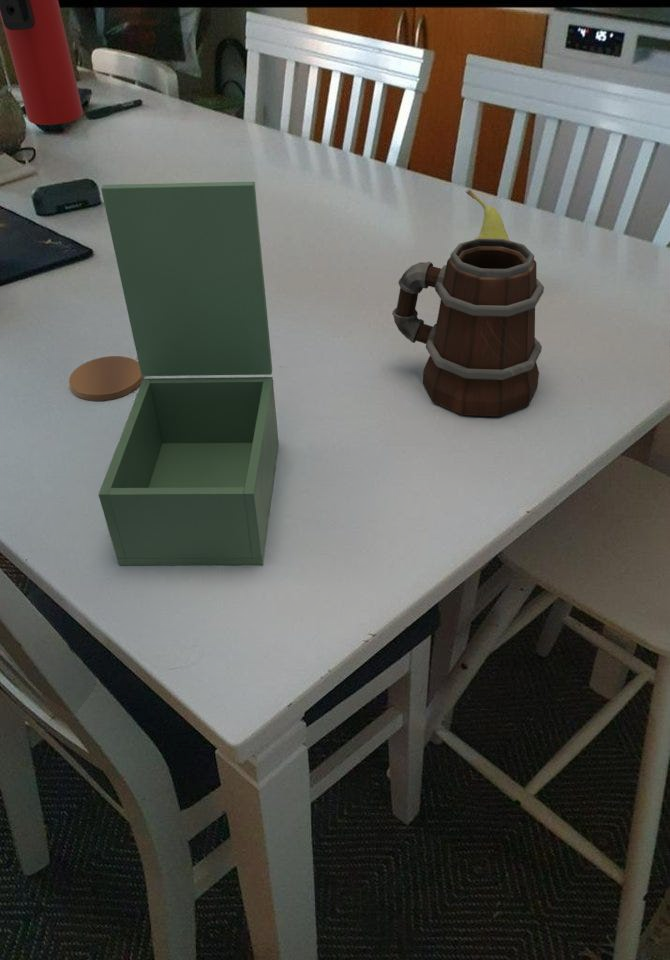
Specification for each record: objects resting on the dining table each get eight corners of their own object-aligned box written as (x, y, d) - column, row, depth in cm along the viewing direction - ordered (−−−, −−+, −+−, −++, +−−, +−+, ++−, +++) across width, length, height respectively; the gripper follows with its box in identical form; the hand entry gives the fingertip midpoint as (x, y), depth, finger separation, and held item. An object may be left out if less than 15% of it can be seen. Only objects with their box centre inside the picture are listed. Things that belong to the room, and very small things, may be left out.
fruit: (503, 303, 101) (513, 208, 93) (448, 290, 104) (453, 197, 96) (523, 282, 105) (534, 190, 97) (470, 270, 108) (477, 180, 101)
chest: (262, 565, 67) (253, 493, 62) (118, 565, 67) (98, 494, 63) (278, 444, 80) (272, 376, 75) (157, 445, 80) (143, 378, 75)
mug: (546, 369, 89) (566, 238, 79) (517, 429, 80) (536, 290, 71) (411, 342, 94) (415, 216, 84) (371, 396, 86) (371, 263, 76)
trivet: (81, 409, 86) (79, 402, 85) (62, 374, 91) (61, 368, 91) (153, 387, 88) (152, 381, 88) (131, 355, 94) (130, 349, 93)
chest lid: (253, 184, 63) (260, 163, 67) (100, 188, 64) (115, 166, 67) (271, 374, 74) (276, 347, 78) (141, 376, 75) (152, 348, 79)
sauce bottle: (34, 128, 67) (-11, -43, 59) (23, 114, 70) (-21, -50, 62) (89, 118, 69) (52, -50, 61) (75, 105, 72) (39, -56, 64)
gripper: (-51, -261, 59) (16, 5, 70) (-147, -273, 48) (-50, 44, 59) (49, -266, 59) (101, 2, 70) (-25, -279, 48) (50, 41, 59)
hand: (31, 20), depth 65 cm, fingers closed on sauce bottle, 4 cm apart
